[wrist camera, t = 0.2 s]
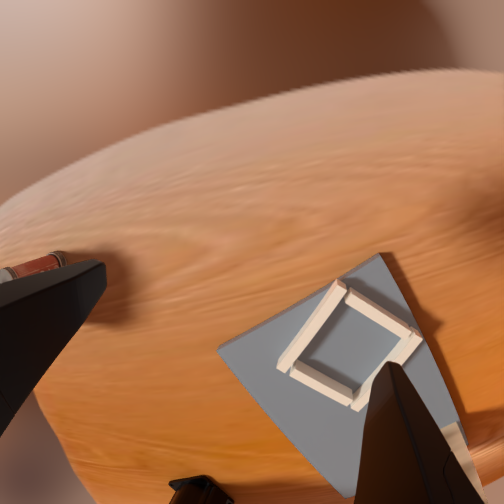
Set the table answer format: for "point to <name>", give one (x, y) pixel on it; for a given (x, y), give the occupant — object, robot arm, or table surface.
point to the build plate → (334, 372)
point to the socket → (314, 323)
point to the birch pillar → (463, 456)
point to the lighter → (33, 266)
